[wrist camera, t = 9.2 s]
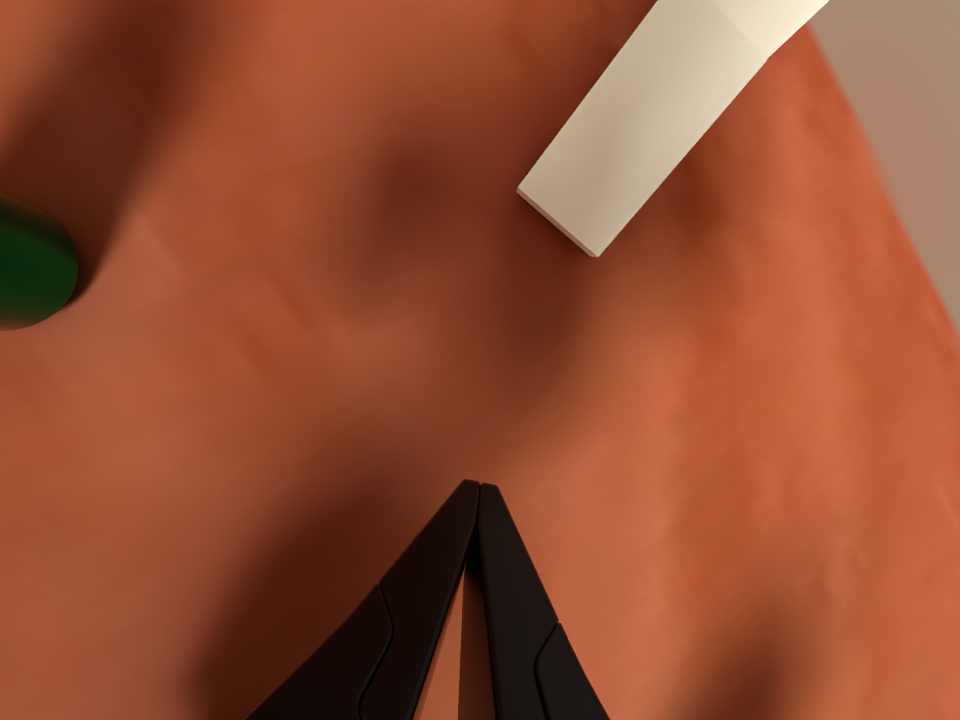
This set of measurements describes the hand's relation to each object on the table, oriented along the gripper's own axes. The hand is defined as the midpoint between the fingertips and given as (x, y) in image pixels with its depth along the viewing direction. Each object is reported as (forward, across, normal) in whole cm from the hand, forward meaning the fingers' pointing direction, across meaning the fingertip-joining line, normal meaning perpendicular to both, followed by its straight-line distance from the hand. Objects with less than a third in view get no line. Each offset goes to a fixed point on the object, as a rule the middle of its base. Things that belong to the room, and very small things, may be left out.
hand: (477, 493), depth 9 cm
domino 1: (+13, +2, +4) cm, 14 cm away
